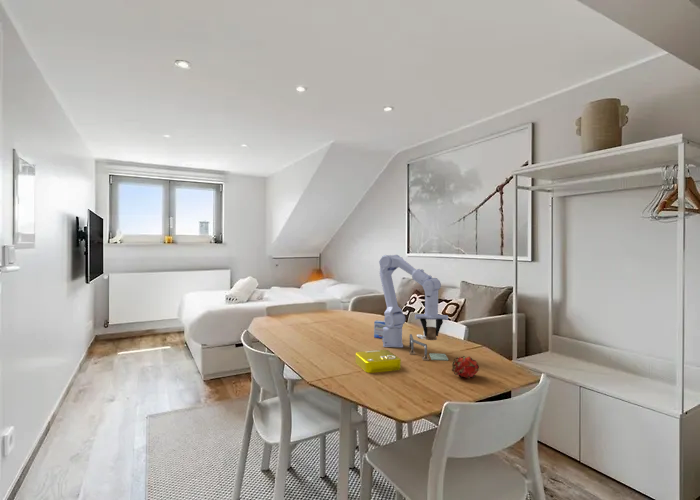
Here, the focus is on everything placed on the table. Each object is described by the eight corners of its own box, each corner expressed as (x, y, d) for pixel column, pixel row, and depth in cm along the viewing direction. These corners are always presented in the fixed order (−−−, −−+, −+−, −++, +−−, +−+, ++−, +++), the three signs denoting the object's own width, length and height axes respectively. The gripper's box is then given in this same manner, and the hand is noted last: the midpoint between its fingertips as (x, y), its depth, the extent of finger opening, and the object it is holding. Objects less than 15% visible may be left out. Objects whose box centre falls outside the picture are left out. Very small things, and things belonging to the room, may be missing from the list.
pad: (431, 359, 159) (431, 358, 159) (429, 354, 167) (429, 353, 167) (448, 360, 158) (448, 359, 158) (445, 354, 166) (445, 353, 166)
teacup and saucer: (415, 338, 196) (415, 331, 196) (419, 335, 203) (420, 328, 203) (431, 341, 192) (431, 333, 192) (435, 337, 199) (435, 330, 199)
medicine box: (373, 337, 195) (374, 321, 195) (375, 335, 200) (375, 319, 200) (388, 339, 193) (388, 322, 193) (390, 337, 197) (390, 320, 197)
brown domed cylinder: (426, 340, 164) (426, 328, 164) (424, 337, 169) (424, 326, 169) (437, 340, 164) (437, 329, 164) (435, 337, 169) (436, 326, 169)
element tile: (386, 359, 160) (387, 348, 160) (402, 370, 146) (402, 358, 146) (353, 362, 155) (354, 350, 155) (366, 374, 141) (367, 361, 141)
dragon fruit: (449, 382, 137) (475, 383, 141) (462, 374, 131) (489, 376, 135) (443, 359, 142) (469, 361, 146) (456, 351, 136) (482, 353, 140)
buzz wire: (411, 359, 158) (411, 344, 158) (407, 346, 179) (408, 333, 179) (428, 360, 158) (429, 345, 158) (423, 347, 178) (423, 333, 178)
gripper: (415, 306, 163) (415, 337, 163) (449, 307, 162) (449, 338, 162) (414, 303, 170) (414, 333, 170) (446, 304, 169) (446, 334, 169)
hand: (431, 335), depth 167 cm, fingers closed on brown domed cylinder, 4 cm apart
